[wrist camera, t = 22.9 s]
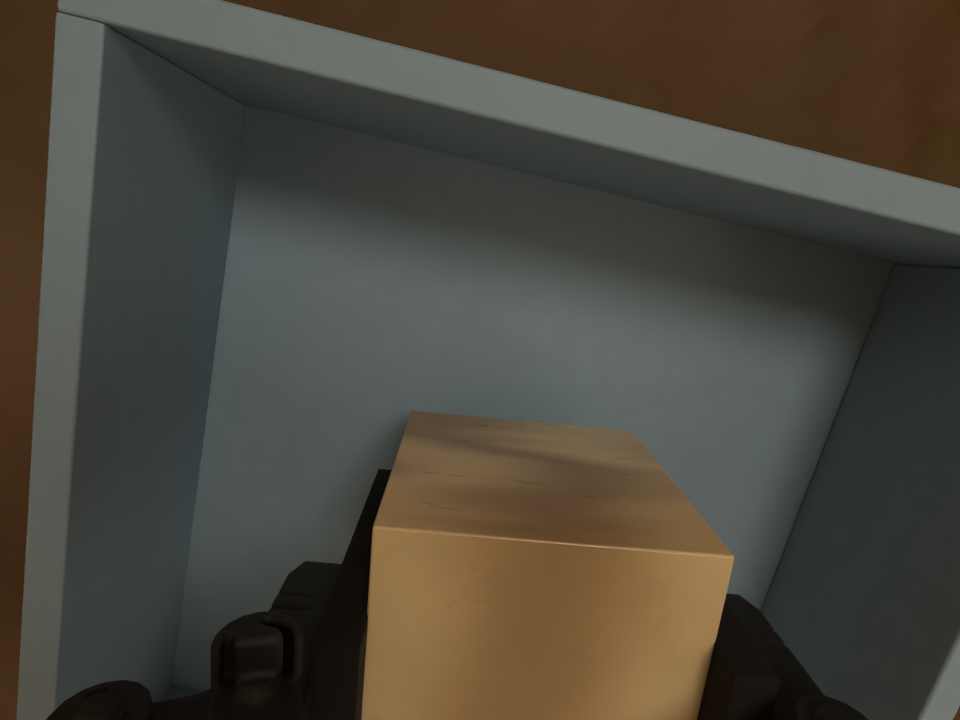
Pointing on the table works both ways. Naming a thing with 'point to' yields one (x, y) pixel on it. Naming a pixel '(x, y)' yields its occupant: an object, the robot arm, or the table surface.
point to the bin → (464, 338)
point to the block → (537, 578)
